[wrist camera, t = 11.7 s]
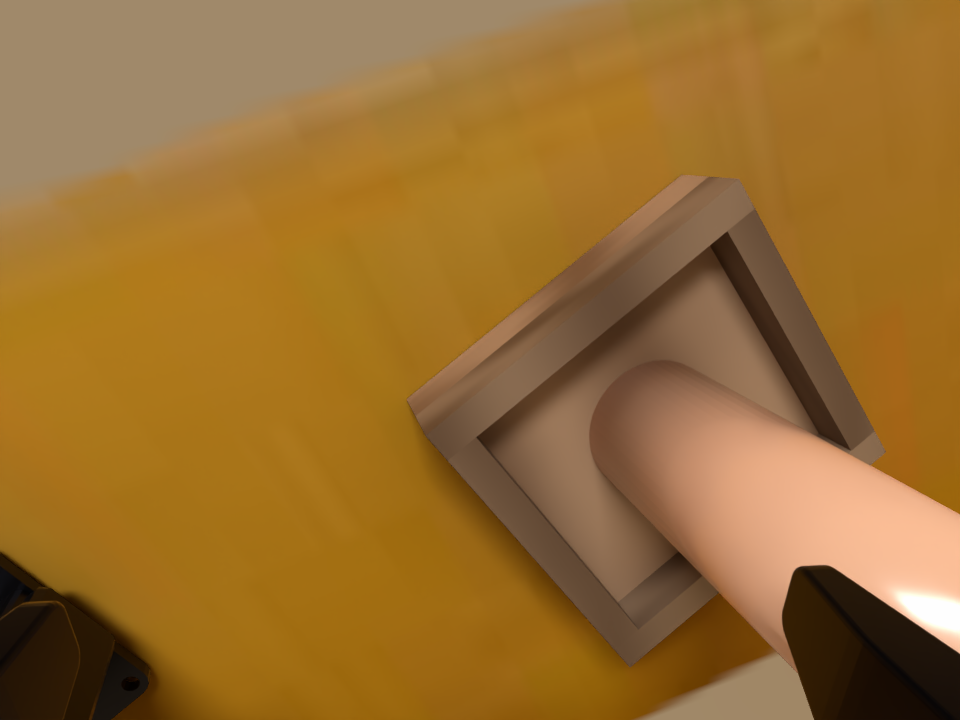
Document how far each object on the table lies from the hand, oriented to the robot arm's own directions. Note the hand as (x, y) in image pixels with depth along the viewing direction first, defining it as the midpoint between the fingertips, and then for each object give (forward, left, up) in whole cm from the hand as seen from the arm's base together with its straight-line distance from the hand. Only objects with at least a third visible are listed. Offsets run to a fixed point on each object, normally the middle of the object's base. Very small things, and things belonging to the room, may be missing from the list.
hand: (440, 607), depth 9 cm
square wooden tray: (+6, -8, -13) cm, 16 cm away
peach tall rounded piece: (+6, -8, -12) cm, 15 cm away
